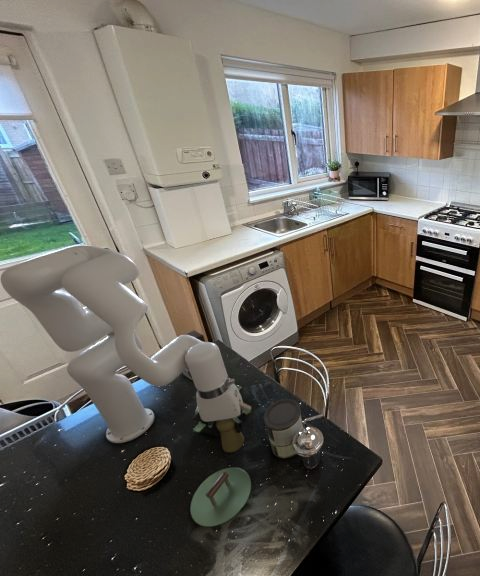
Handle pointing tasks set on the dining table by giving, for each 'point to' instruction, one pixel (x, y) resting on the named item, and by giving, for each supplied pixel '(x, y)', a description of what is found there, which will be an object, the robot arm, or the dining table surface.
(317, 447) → the cup with straw
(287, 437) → the coffee can
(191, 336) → the robot arm
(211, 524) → the lid
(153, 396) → the dining table surface
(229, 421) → the cork
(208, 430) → the pot
